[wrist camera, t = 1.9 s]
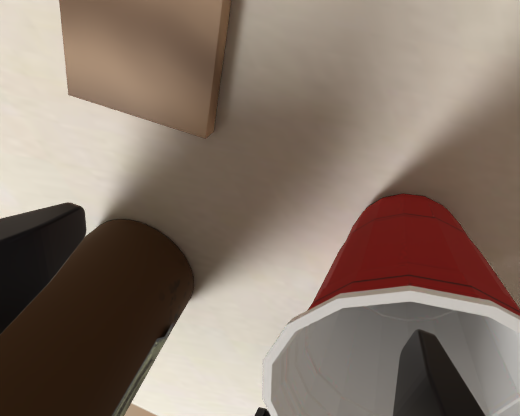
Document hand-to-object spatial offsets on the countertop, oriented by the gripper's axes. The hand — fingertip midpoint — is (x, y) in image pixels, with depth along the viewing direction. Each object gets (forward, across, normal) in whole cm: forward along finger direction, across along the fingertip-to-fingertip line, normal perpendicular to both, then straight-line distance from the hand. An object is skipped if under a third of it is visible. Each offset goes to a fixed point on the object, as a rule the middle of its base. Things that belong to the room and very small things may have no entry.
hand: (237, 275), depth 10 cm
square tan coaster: (+13, +10, -2) cm, 17 cm away
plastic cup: (+13, -7, +5) cm, 16 cm away
